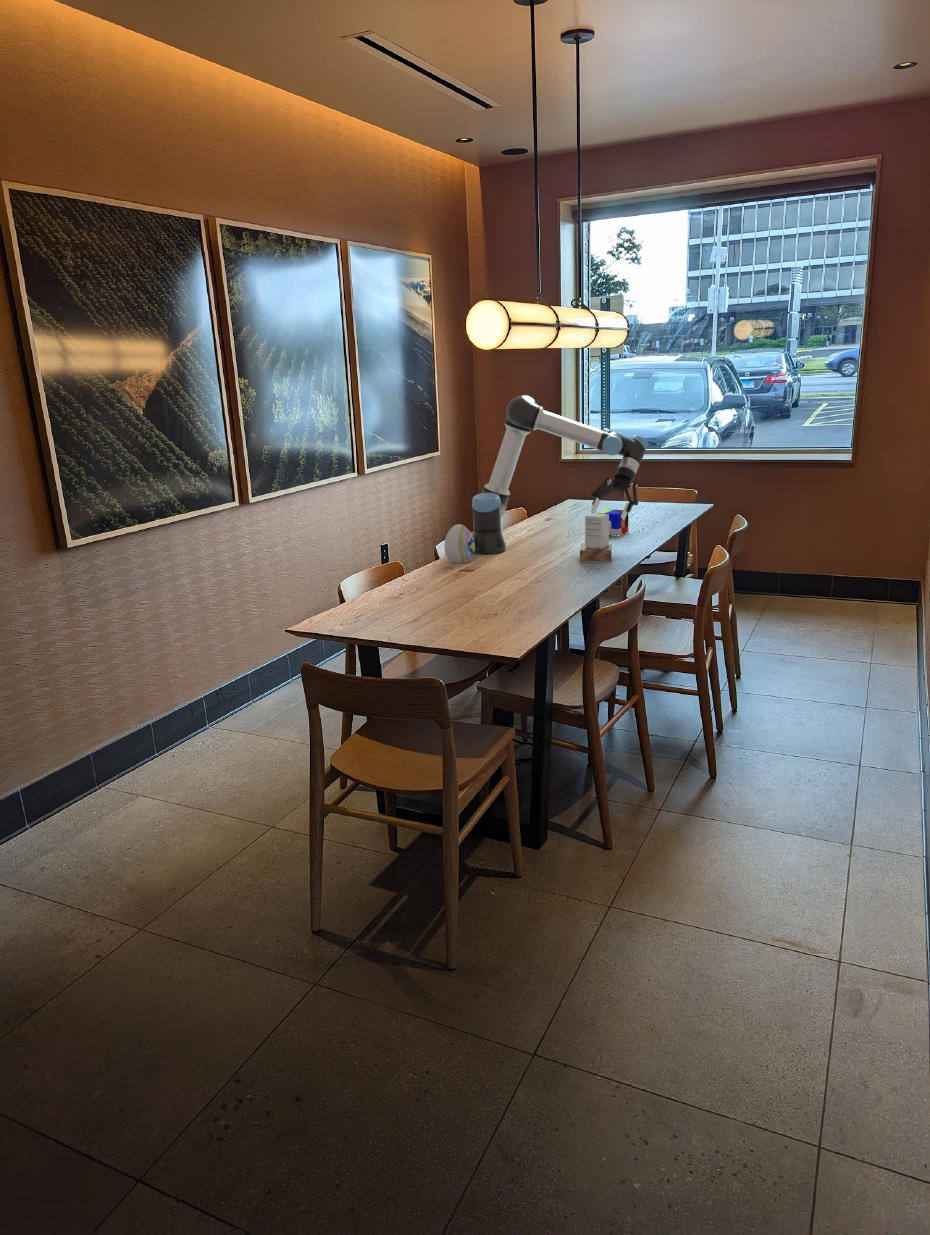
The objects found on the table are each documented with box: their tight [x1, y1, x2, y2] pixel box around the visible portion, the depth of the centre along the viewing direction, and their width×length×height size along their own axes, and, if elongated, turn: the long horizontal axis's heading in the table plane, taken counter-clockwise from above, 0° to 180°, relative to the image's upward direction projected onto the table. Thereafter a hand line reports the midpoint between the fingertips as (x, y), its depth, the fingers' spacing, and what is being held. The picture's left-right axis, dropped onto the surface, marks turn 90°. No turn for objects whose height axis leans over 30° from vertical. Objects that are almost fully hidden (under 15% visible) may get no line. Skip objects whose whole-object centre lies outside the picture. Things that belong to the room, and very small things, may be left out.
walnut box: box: [579, 543, 613, 563], centre depth 331 cm, size 12×12×5 cm
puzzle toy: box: [597, 508, 629, 537], centre depth 375 cm, size 10×10×10 cm
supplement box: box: [584, 512, 610, 549], centre depth 328 cm, size 7×7×13 cm
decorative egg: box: [443, 523, 475, 564], centre depth 335 cm, size 12×12×15 cm
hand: (607, 515), depth 336 cm, fingers open, 13 cm apart
